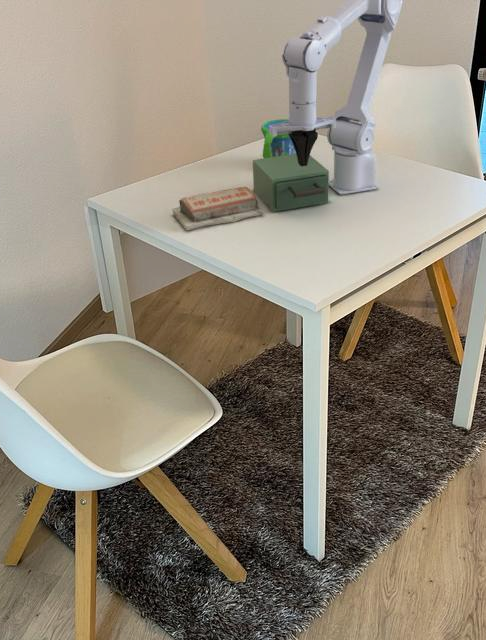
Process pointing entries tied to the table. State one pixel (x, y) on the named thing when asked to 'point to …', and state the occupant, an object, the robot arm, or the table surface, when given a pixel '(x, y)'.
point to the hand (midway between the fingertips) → (302, 164)
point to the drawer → (301, 192)
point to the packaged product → (217, 208)
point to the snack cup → (276, 142)
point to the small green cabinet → (282, 175)
